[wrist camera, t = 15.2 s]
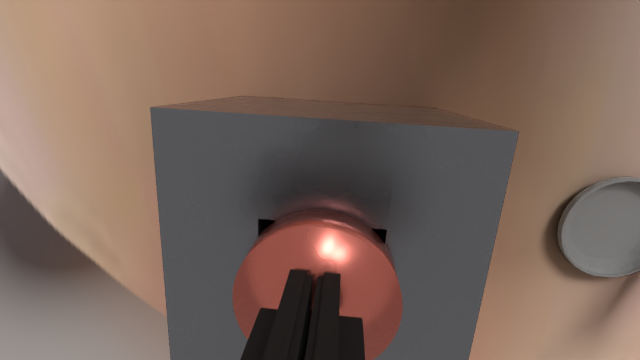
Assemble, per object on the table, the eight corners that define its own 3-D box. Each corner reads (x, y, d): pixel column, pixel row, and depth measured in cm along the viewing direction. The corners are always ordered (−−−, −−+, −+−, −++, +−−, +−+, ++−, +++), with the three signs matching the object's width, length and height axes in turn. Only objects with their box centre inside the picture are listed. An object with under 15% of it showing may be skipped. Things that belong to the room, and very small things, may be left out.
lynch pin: (379, 156, 21) (413, 236, 10) (370, 237, 23) (392, 383, 12) (291, 149, 22) (231, 220, 11) (288, 230, 23) (233, 365, 12)
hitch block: (436, 108, 21) (518, 131, 11) (410, 280, 24) (454, 421, 14) (242, 95, 21) (150, 107, 11) (243, 265, 25) (172, 388, 15)
